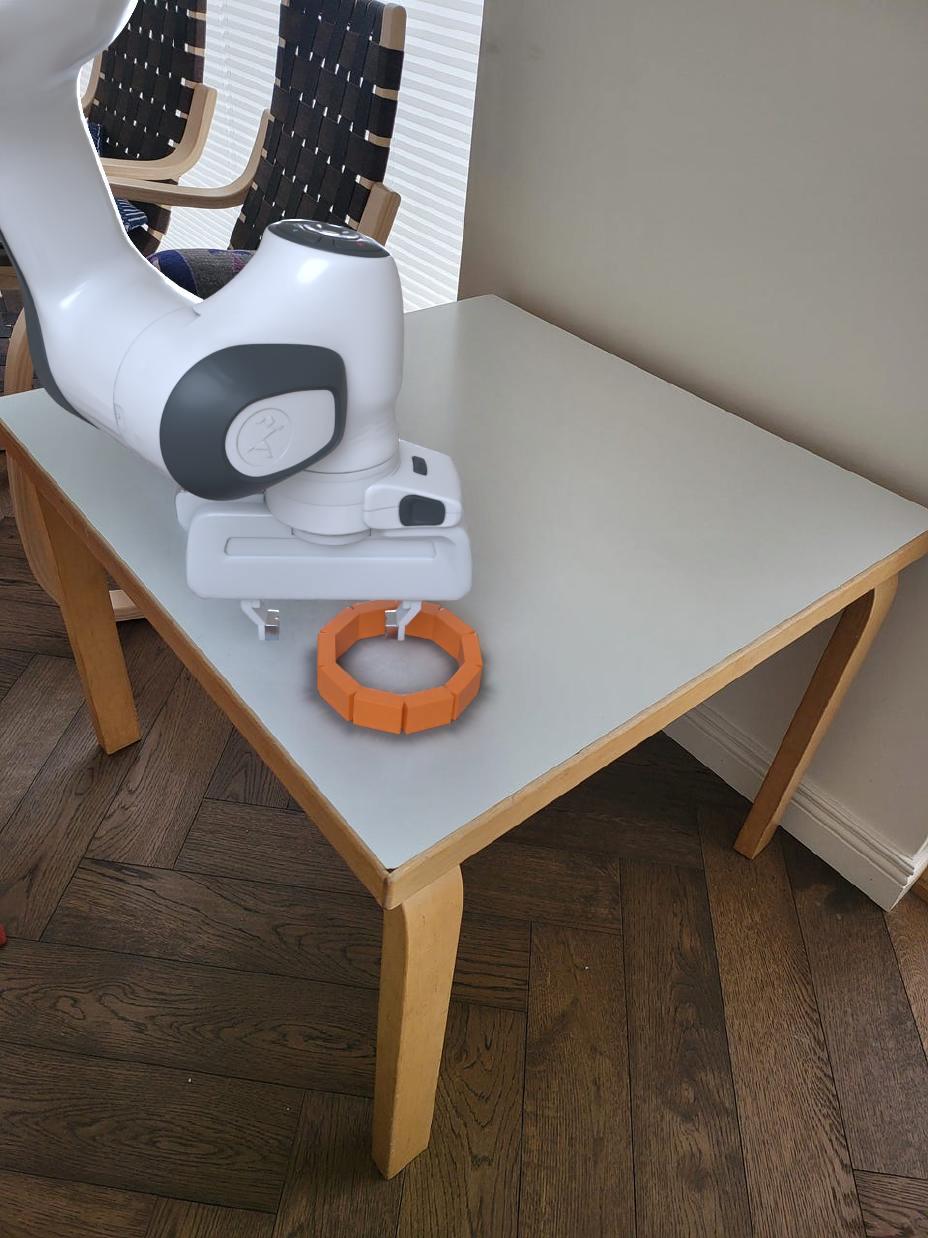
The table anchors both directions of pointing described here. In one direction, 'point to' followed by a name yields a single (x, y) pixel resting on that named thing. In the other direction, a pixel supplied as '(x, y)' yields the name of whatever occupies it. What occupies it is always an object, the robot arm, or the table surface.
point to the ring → (389, 707)
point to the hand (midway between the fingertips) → (332, 635)
